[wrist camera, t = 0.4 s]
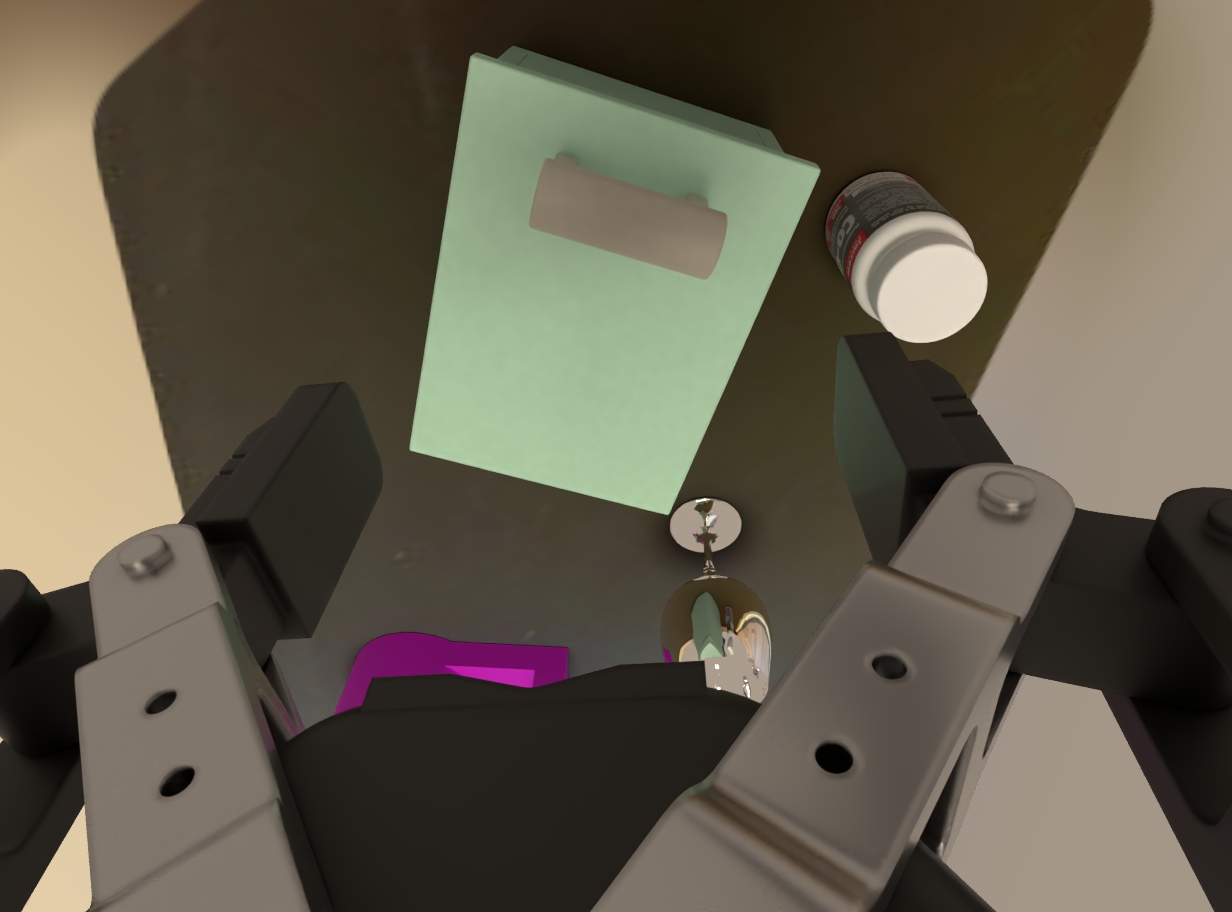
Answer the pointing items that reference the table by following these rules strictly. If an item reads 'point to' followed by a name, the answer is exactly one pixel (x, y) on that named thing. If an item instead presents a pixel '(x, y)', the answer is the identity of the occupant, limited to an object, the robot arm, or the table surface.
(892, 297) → the pill bottle
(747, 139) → the bin
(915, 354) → the table surface
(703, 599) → the wineglass
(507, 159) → the bin lid
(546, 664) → the tape dispenser
